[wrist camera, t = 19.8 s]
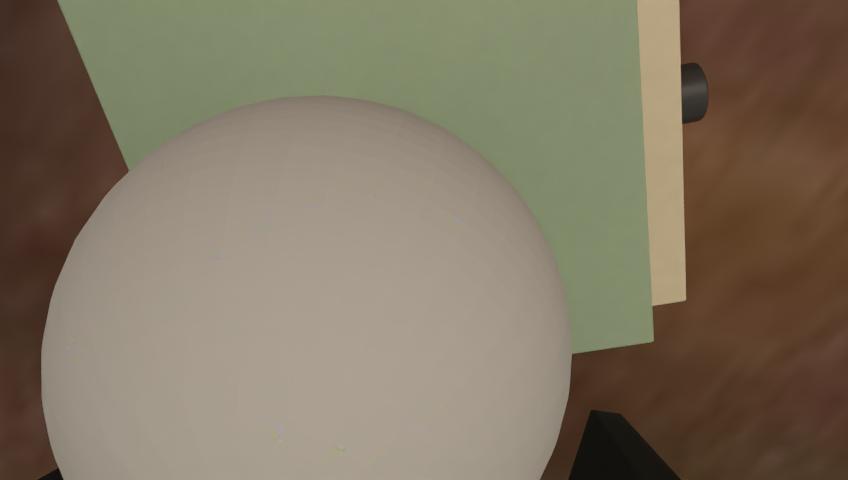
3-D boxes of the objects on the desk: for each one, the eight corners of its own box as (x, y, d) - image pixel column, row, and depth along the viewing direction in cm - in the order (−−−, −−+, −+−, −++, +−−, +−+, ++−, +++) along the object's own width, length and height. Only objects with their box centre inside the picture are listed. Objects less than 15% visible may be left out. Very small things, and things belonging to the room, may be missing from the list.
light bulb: (352, -7, 12) (26, -73, 2) (555, 158, 13) (835, 520, 4) (218, 198, 14) (-245, 590, 4) (407, 325, 15) (352, 835, 6)
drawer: (660, -111, 15) (737, -154, 11) (672, 236, 19) (731, 294, 15) (233, -11, 17) (167, -19, 13) (326, 293, 20) (298, 361, 17)
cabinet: (565, -109, 16) (629, -172, 10) (597, 252, 20) (655, 343, 15) (171, -15, 17) (43, -28, 12) (281, 305, 22) (226, 406, 16)
